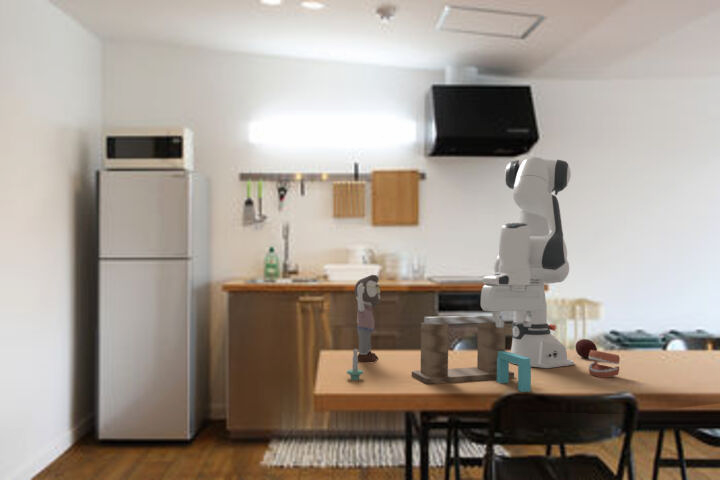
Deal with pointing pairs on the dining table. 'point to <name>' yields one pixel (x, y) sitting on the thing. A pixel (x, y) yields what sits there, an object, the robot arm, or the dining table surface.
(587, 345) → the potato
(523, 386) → the teal stepped bracket
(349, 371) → the screw
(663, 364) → the dining table surface
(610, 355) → the dentures
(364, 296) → the figurine
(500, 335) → the shelf
